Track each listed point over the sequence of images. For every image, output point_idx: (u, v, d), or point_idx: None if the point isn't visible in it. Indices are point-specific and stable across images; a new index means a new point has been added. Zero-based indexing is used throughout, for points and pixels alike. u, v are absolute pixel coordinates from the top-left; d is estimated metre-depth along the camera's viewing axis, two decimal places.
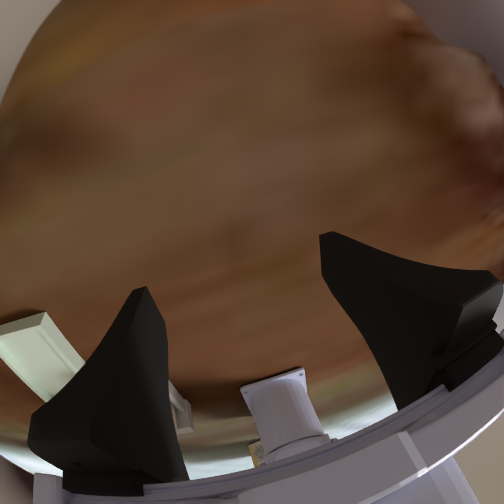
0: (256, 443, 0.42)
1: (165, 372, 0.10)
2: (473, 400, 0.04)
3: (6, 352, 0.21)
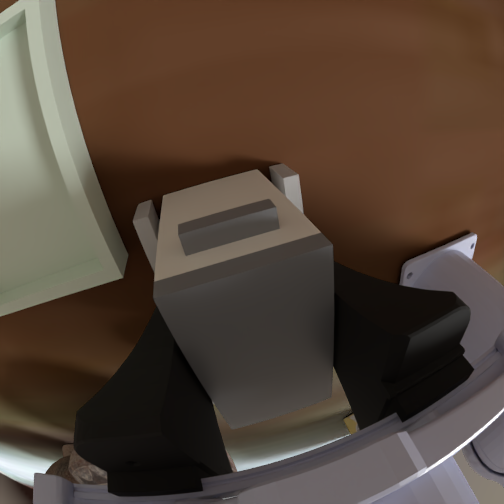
0: None
1: None
2: (473, 400, 0.04)
3: None
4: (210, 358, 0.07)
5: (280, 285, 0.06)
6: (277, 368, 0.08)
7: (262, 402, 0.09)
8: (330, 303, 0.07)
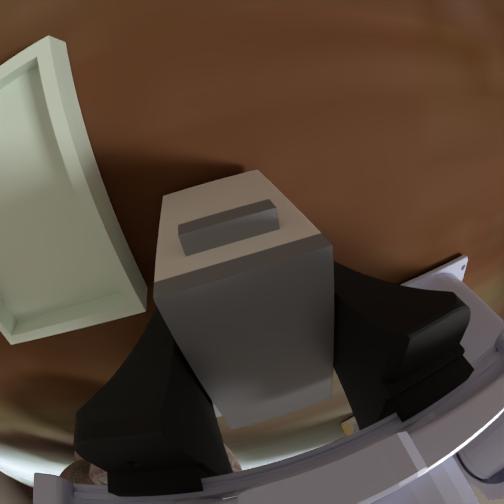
0: (353, 418, 0.28)
1: None
2: (473, 400, 0.04)
3: None
4: (210, 358, 0.07)
5: (280, 285, 0.06)
6: (277, 368, 0.08)
7: (262, 402, 0.09)
8: (330, 304, 0.07)
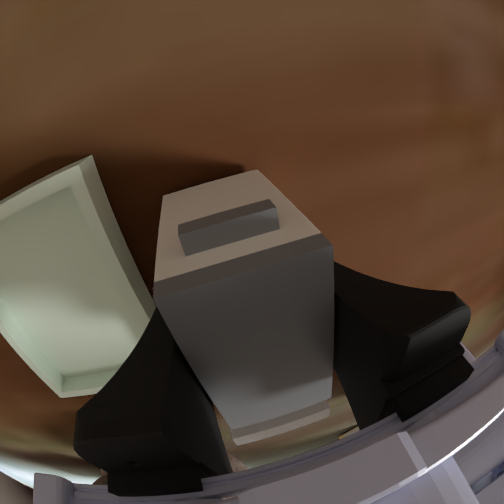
0: (350, 432, 0.31)
1: None
2: (473, 400, 0.04)
3: None
4: (210, 358, 0.07)
5: (280, 285, 0.06)
6: (277, 368, 0.08)
7: (262, 402, 0.09)
8: (330, 304, 0.07)
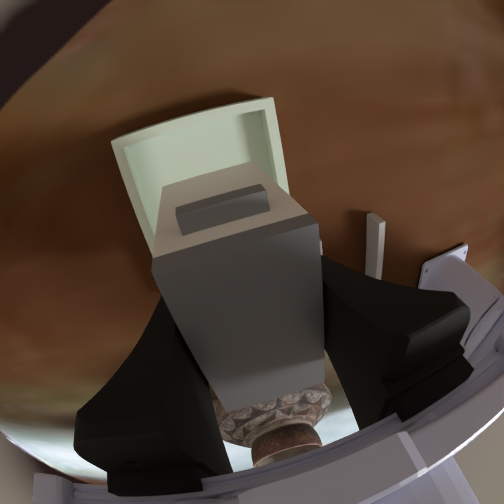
0: None
1: None
2: (473, 400, 0.04)
3: (137, 180, 0.16)
4: (204, 334, 0.08)
5: (269, 261, 0.07)
6: (269, 347, 0.09)
7: (256, 383, 0.09)
8: (318, 281, 0.08)
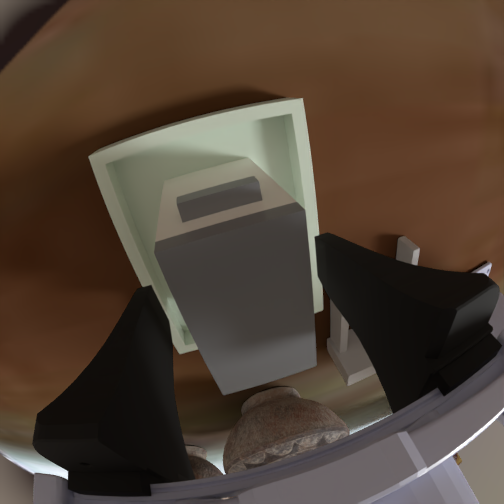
0: None
1: (170, 371, 0.10)
2: (473, 400, 0.04)
3: (125, 205, 0.12)
4: (202, 313, 0.08)
5: (261, 244, 0.08)
6: (262, 328, 0.09)
7: (250, 365, 0.10)
8: (307, 265, 0.08)
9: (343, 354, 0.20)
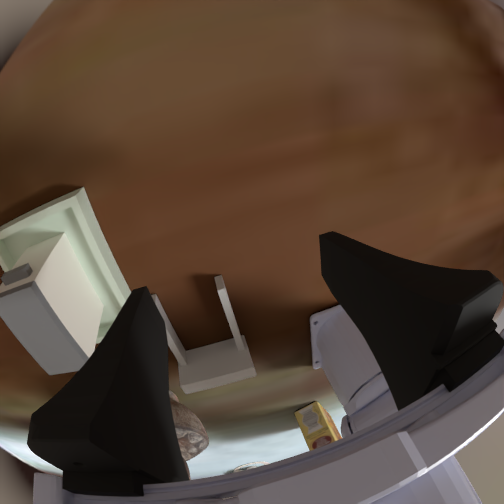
0: (304, 409, 0.38)
1: (165, 372, 0.10)
2: (473, 400, 0.04)
3: (11, 262, 0.17)
4: (15, 328, 0.13)
5: (21, 300, 0.12)
6: (43, 339, 0.14)
7: (51, 359, 0.15)
8: (45, 311, 0.13)
9: (183, 367, 0.25)
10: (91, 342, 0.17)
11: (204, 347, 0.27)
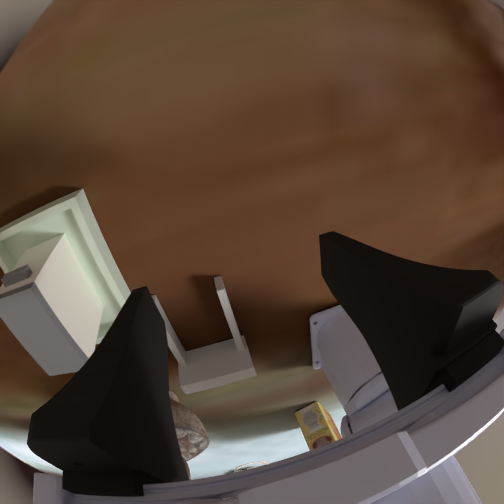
0: (304, 409, 0.38)
1: (165, 372, 0.10)
2: (473, 400, 0.04)
3: (11, 263, 0.17)
4: (15, 329, 0.13)
5: (21, 301, 0.12)
6: (43, 340, 0.14)
7: (51, 360, 0.15)
8: (45, 312, 0.13)
9: (183, 368, 0.25)
10: (91, 343, 0.17)
11: (204, 347, 0.27)
